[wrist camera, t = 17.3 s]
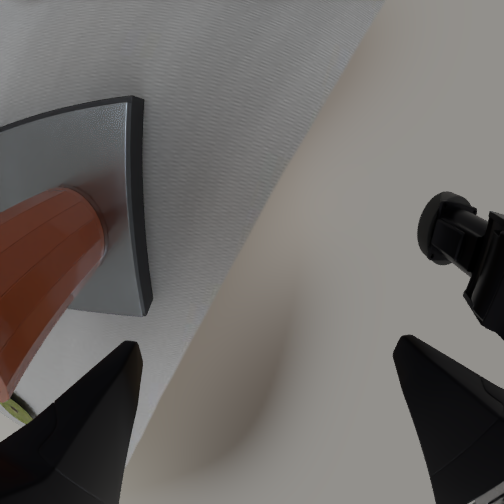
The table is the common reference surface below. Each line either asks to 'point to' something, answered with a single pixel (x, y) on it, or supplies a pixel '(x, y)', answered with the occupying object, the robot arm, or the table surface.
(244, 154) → the table surface
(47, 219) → the cup
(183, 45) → the table surface
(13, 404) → the mat
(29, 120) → the scale
